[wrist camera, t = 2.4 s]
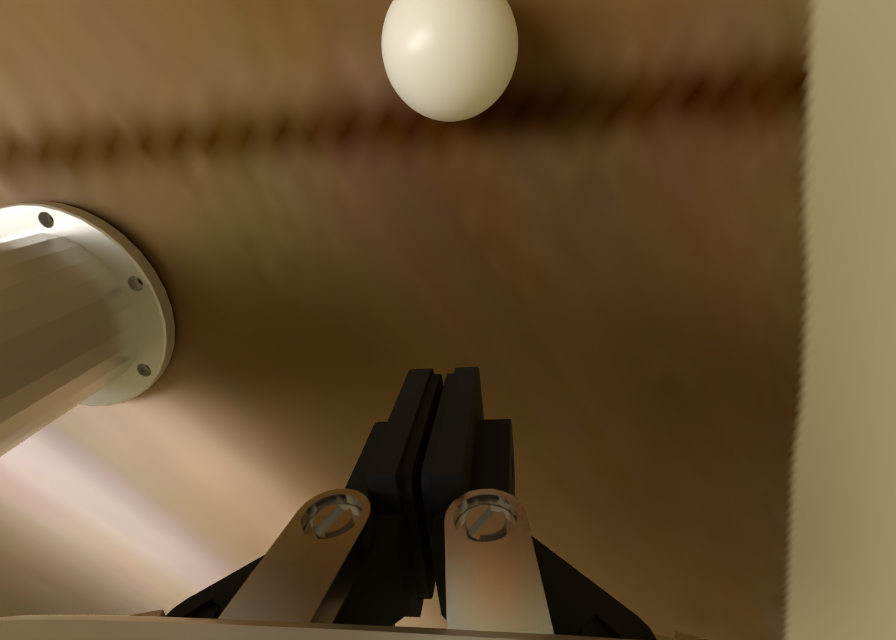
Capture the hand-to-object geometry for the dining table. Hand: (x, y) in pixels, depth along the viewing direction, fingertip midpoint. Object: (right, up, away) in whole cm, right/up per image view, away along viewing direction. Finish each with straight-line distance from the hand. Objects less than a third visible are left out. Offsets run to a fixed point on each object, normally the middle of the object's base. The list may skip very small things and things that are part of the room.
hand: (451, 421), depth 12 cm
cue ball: (0, +14, +8) cm, 16 cm away
